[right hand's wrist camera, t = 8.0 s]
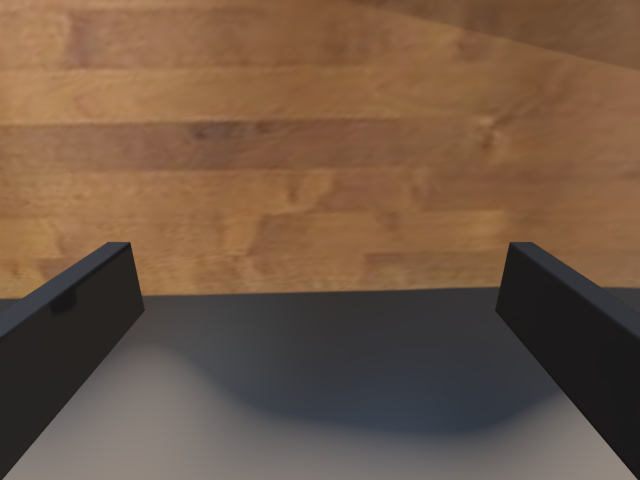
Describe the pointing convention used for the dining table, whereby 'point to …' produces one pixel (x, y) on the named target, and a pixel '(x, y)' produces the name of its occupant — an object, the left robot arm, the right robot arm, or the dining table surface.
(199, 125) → the dining table surface
